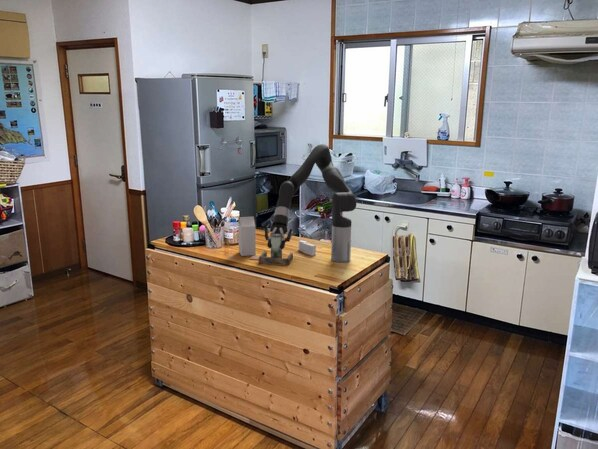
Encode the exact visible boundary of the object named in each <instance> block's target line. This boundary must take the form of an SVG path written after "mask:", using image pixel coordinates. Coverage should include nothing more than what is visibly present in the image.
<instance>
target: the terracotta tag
mask: <svg viewBox="0 0 598 449" xmlns="http://www.w3.org/2000/svg"><path fill="white" fill-rule="evenodd" d="M259 257H260V255H251V256H250V258H249V260H254V261H259Z"/></svg>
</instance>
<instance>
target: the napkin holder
mask: <svg viewBox="0 0 598 449" xmlns="http://www.w3.org/2000/svg"><path fill="white" fill-rule="evenodd" d="M298 251H300V252H302V253H303V254H306V255H309V256H315V255H317V254H316V251H317V245H316V244H312V243H309V242H308V241H305V240H298Z"/></svg>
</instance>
